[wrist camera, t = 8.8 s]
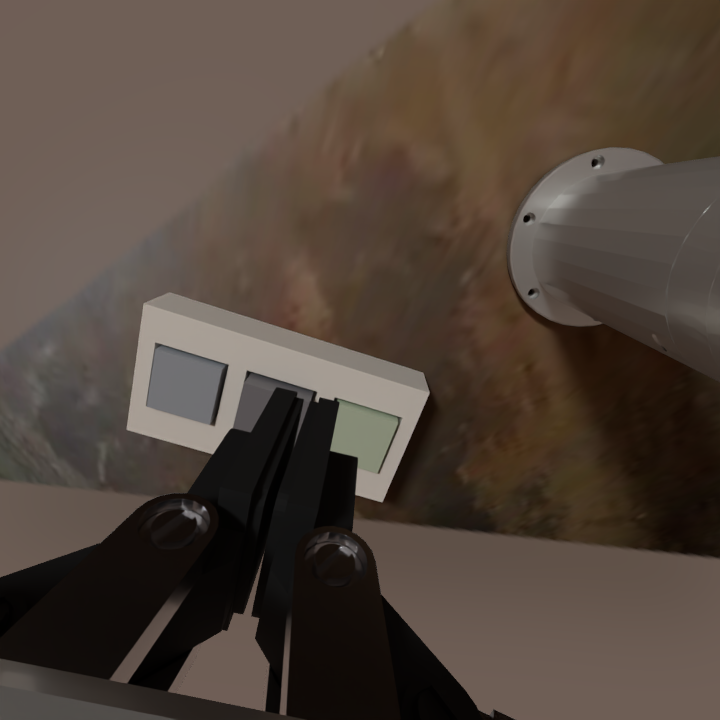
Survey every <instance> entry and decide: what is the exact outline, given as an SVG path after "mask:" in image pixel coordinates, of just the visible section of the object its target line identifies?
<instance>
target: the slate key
mask: <svg viewBox="0 0 720 720" xmlns="http://www.w3.org/2000/svg"><path fill="white" fill-rule="evenodd" d="M228 366H229V365H228V364H225V363H221V362H218V361H215V360H212V359H208V358H205V357H202V356H198V355H195V354H192V353H189V352H185V351H182V350H179V349H175V348H172V347H169V346H166V345H161V346H160V347H158V348H157V349H155V356H154V362H153V369H152V375H151V382H150V388H149V395H148V402H147V407H150V408H153V409H156V410H160V411H163V412H167V413H170V414H174V415H177V416H181V417H184V418H187V419H191V420H194V421H198V422H201V423H205V424H208V425H210V424H211V423H212V421H213V420H214V419H215V417H216V416H217V414H218V411H219V406H220V402H221V397H222V393H223V388H224V384H225V380H226V375H227V371H228Z"/></svg>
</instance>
